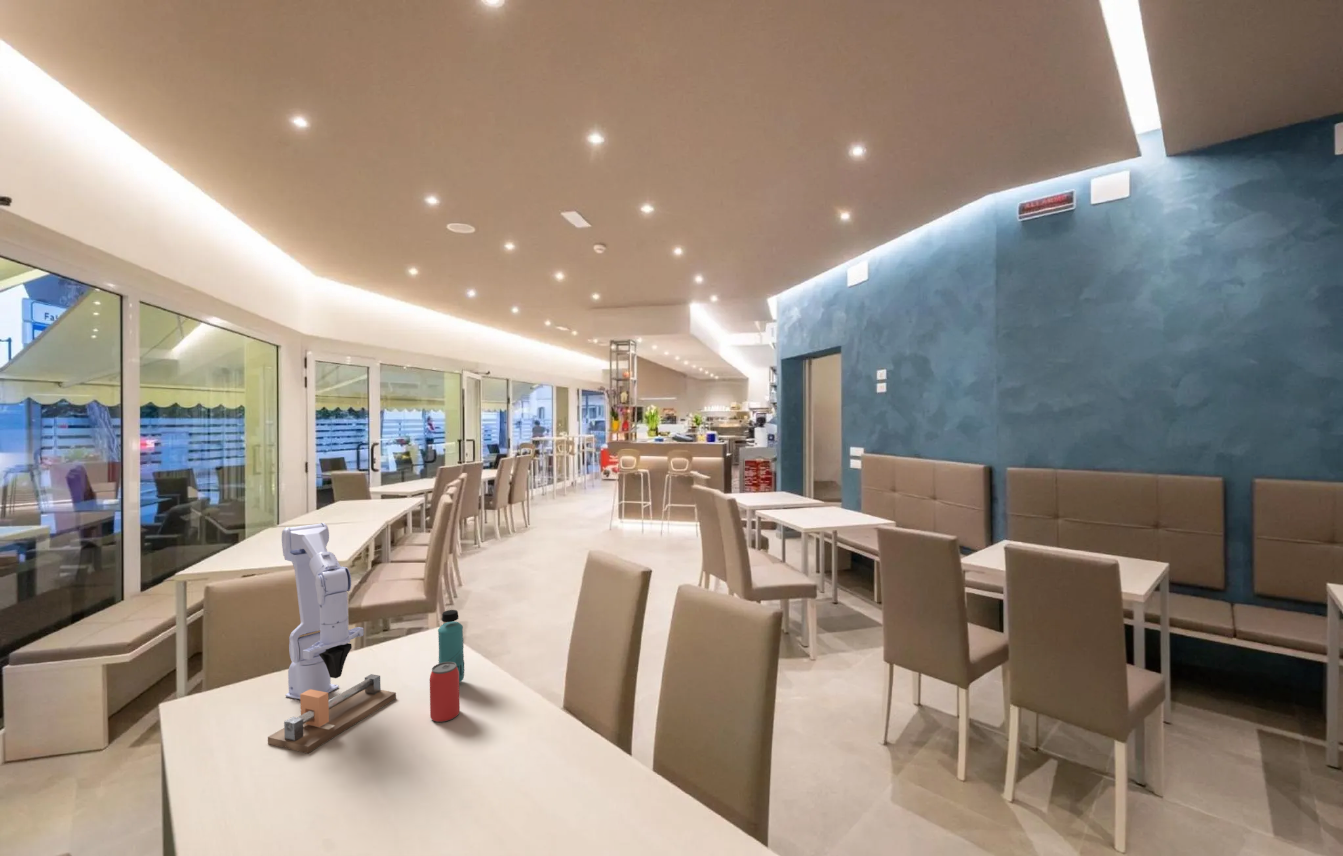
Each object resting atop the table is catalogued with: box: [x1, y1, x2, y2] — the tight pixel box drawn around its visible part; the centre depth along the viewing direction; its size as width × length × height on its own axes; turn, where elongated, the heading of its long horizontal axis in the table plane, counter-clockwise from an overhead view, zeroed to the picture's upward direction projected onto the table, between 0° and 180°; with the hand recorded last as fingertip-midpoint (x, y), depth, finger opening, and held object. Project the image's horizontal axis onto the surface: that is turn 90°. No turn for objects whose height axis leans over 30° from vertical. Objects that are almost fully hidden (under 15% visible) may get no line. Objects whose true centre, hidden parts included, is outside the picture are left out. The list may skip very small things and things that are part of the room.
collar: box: [299, 689, 329, 727], centre depth 125 cm, size 6×2×7 cm, turn 72°
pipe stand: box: [283, 673, 382, 742], centre depth 131 cm, size 3×23×4 cm, turn 162°
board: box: [267, 689, 397, 754], centre depth 131 cm, size 12×24×2 cm, turn 162°
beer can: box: [429, 662, 461, 723], centre depth 132 cm, size 7×7×12 cm
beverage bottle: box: [437, 609, 466, 683], centre depth 147 cm, size 6×7×20 cm
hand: (335, 676), depth 130 cm, fingers closed
